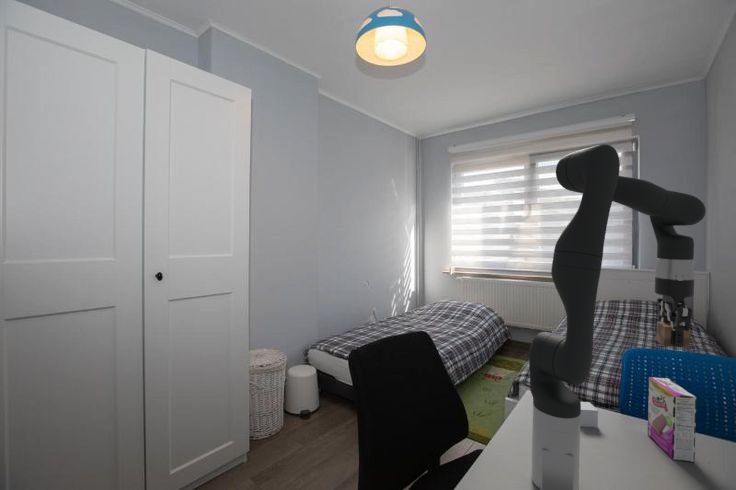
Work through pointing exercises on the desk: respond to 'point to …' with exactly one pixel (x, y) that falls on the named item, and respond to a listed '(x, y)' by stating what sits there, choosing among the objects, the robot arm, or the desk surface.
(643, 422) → the desk surface
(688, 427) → the candy bar box
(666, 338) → the walnut block
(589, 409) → the grey block
